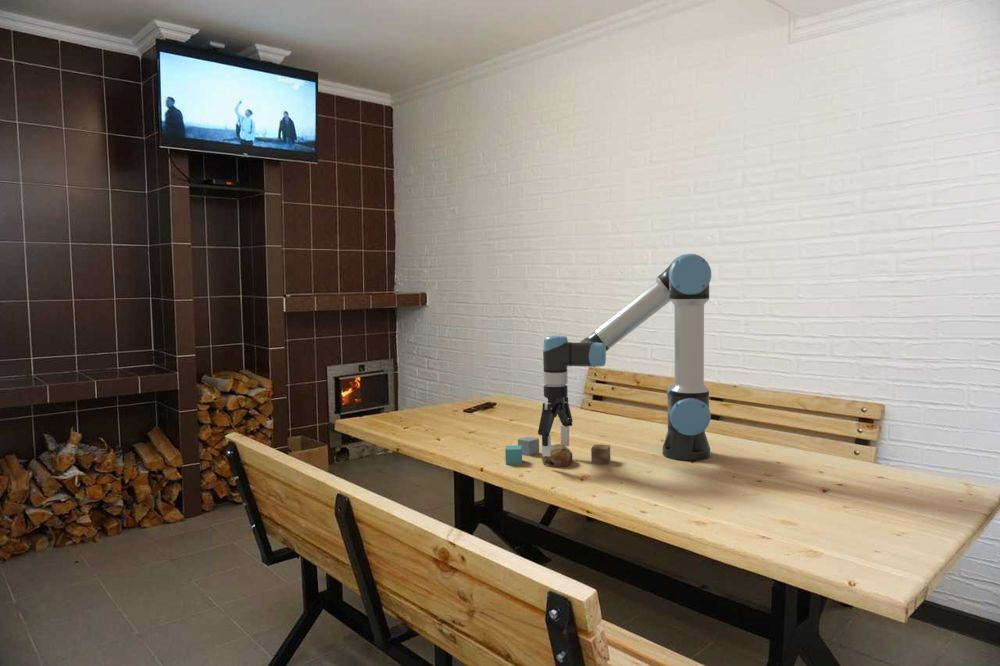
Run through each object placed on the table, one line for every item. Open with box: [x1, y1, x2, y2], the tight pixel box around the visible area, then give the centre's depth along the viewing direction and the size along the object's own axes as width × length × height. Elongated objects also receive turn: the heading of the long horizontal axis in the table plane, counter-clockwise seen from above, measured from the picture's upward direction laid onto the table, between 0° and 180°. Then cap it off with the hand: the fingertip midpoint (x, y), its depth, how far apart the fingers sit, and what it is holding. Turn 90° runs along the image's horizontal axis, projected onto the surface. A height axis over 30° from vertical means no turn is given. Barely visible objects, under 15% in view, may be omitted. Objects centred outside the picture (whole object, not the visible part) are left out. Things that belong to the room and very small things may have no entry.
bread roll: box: [541, 443, 573, 468], centre depth 224 cm, size 10×10×8 cm
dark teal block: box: [504, 444, 523, 466], centre depth 226 cm, size 5×5×5 cm
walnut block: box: [590, 443, 611, 465], centre depth 224 cm, size 5×5×5 cm
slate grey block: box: [517, 435, 540, 457], centre depth 237 cm, size 5×5×5 cm
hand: (556, 450), depth 224 cm, fingers open, 13 cm apart
